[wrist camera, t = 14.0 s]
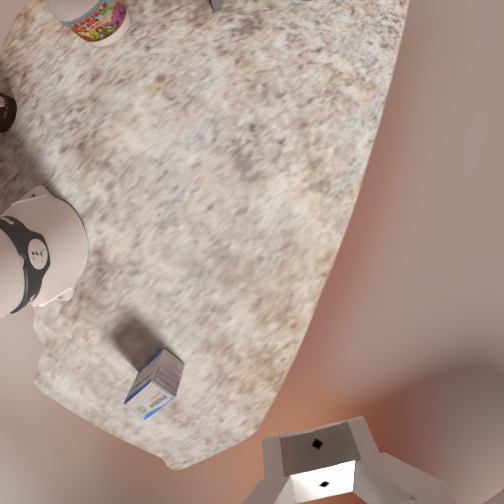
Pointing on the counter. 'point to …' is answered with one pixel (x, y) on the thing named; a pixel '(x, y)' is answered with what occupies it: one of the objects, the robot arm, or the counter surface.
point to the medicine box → (155, 384)
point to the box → (217, 4)
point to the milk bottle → (93, 19)
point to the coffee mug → (7, 112)
